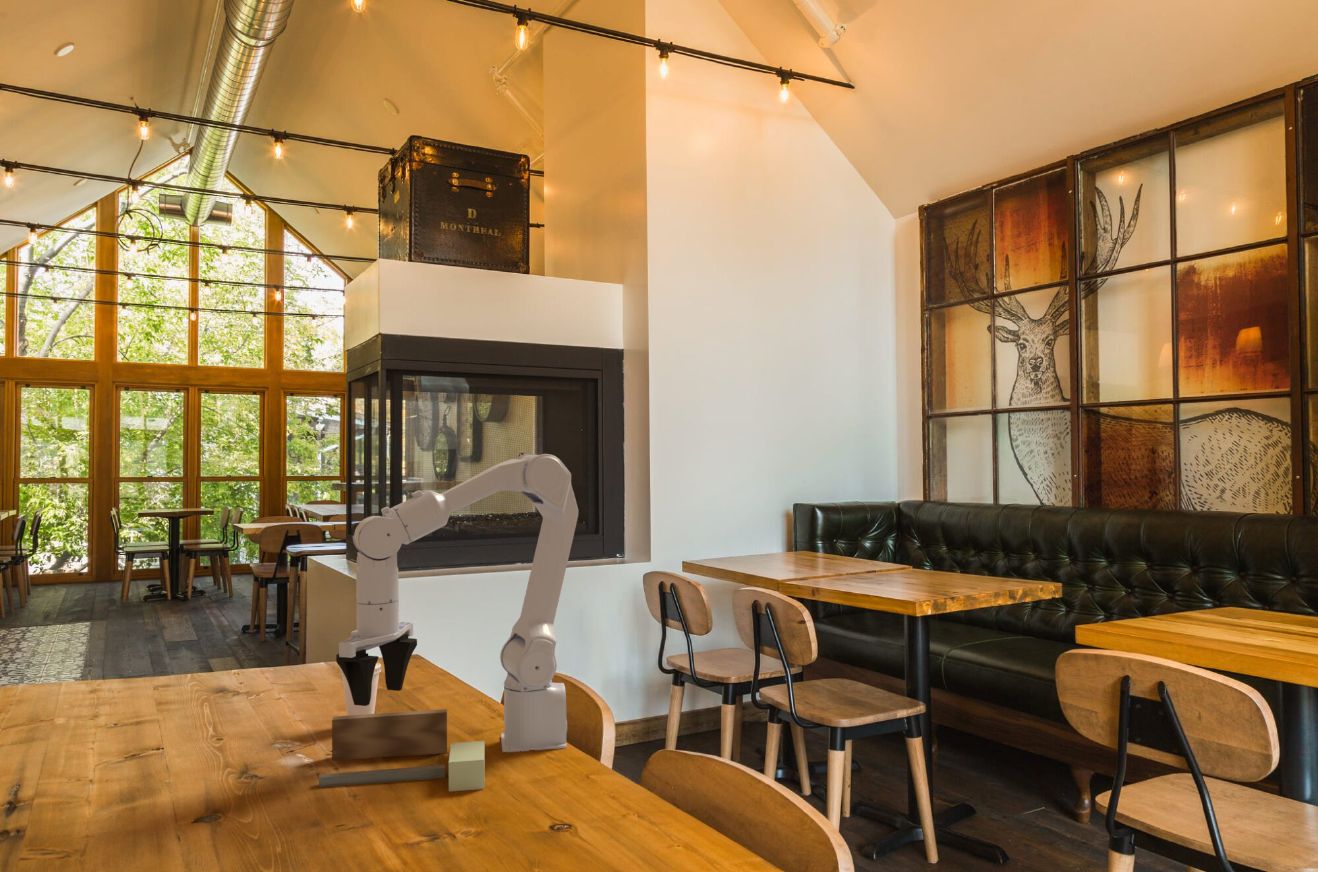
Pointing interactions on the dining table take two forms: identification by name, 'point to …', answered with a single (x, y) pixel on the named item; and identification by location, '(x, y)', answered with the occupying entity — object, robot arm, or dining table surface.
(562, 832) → the dining table surface
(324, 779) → the strip
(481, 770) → the cabinet block
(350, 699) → the smoothie
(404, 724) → the wall board
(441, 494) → the robot arm
